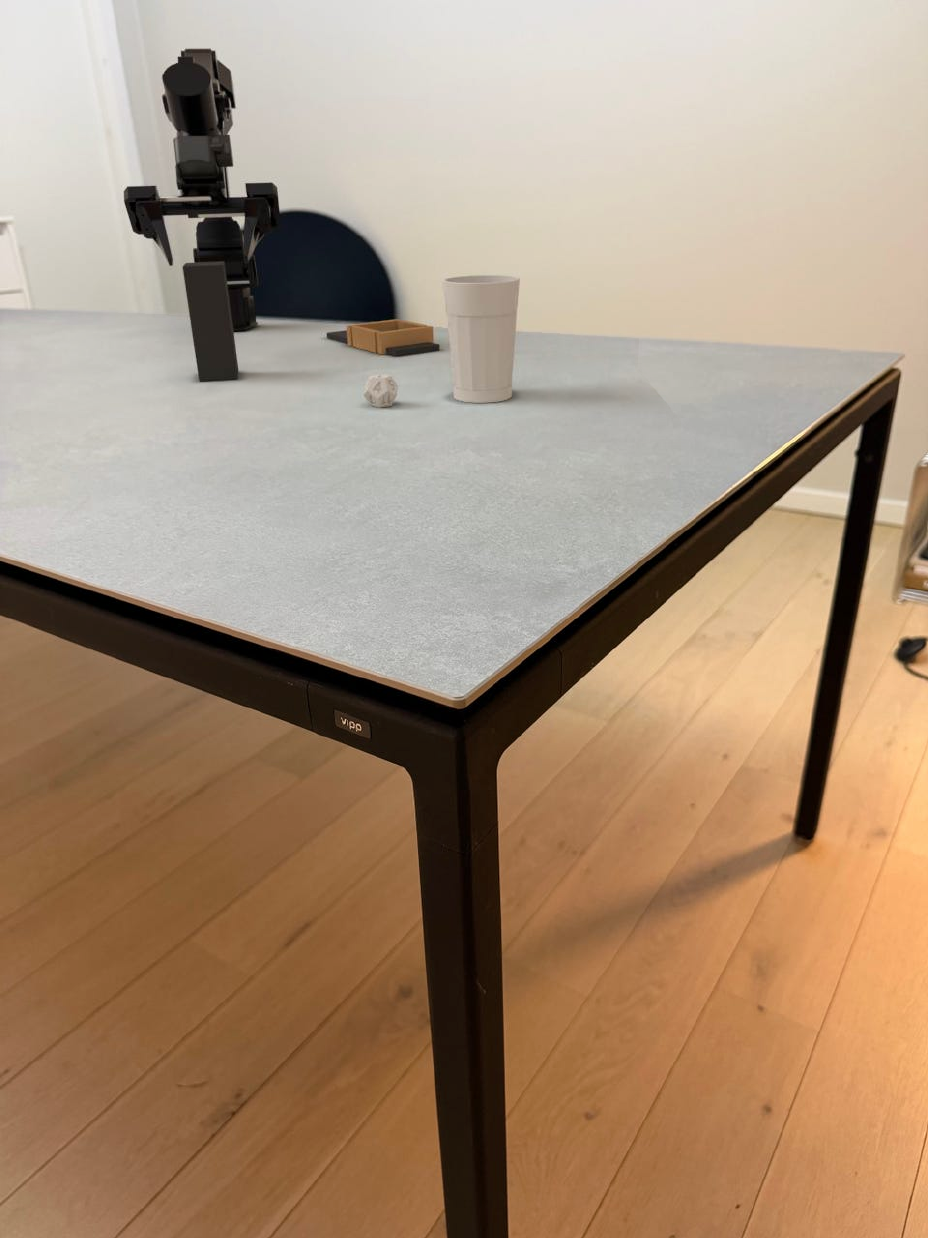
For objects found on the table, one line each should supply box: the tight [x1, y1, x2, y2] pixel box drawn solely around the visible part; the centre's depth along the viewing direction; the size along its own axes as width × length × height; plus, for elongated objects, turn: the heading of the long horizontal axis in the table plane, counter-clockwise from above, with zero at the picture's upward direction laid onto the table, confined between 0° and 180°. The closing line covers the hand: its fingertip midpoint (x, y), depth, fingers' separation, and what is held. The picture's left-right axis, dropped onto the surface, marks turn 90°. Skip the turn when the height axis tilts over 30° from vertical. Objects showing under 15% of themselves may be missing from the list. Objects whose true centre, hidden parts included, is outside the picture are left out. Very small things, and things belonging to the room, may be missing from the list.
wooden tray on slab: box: [326, 318, 440, 357], centre depth 131 cm, size 20×8×3 cm, turn 35°
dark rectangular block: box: [182, 261, 239, 382], centre depth 110 cm, size 4×4×13 cm
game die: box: [363, 373, 399, 409], centre depth 96 cm, size 4×4×3 cm
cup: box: [441, 274, 521, 404], centre depth 97 cm, size 8×8×12 cm
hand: (208, 261), depth 114 cm, fingers open, 9 cm apart
